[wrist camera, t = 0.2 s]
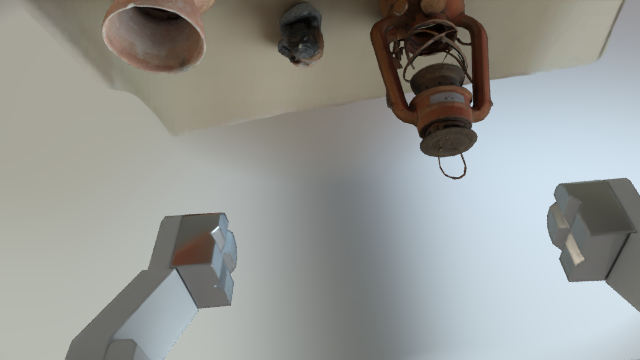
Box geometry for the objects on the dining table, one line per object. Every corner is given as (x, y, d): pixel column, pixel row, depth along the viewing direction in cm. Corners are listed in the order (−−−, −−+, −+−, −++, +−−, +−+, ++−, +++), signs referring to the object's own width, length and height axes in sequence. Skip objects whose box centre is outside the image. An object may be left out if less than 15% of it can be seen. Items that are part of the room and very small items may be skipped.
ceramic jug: (77, -85, 61) (55, 3, 55) (190, -109, 59) (180, -21, 52) (150, 20, 77) (139, 96, 70) (240, 4, 75) (237, 81, 68)
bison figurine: (320, 48, 84) (323, 97, 80) (278, 48, 84) (278, 98, 79) (323, -7, 73) (326, 46, 69) (274, -7, 73) (275, 47, 69)
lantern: (492, -39, 70) (543, 149, 57) (465, 27, 81) (503, 196, 68) (371, -37, 69) (394, 153, 56) (361, 29, 81) (379, 200, 67)
